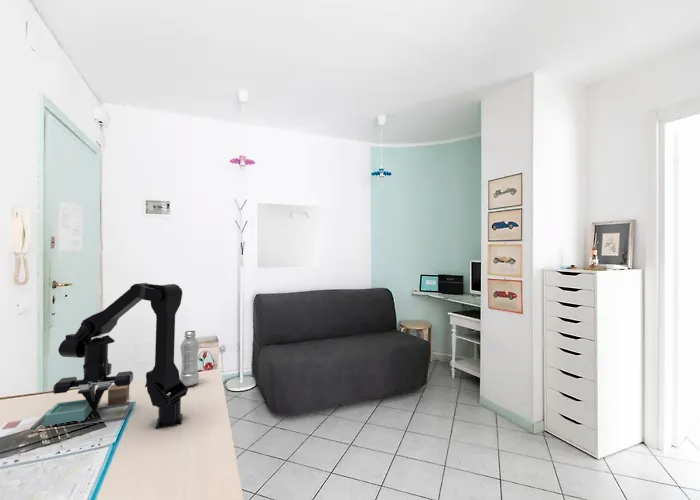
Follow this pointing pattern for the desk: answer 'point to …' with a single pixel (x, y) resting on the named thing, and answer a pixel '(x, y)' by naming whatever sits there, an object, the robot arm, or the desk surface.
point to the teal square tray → (68, 412)
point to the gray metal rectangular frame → (41, 420)
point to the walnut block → (118, 394)
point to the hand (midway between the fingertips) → (94, 410)
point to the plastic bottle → (189, 359)
